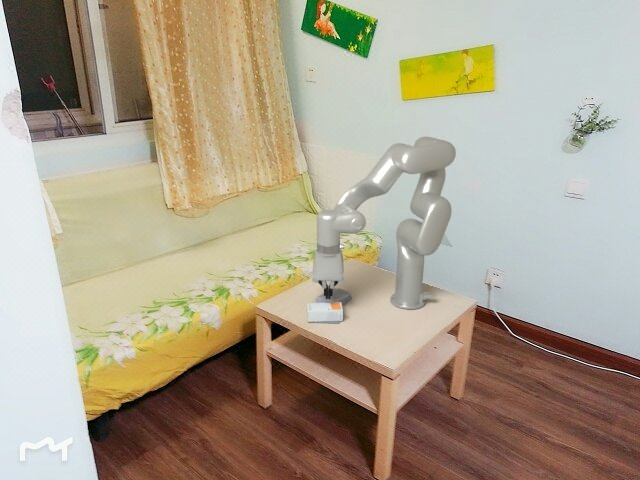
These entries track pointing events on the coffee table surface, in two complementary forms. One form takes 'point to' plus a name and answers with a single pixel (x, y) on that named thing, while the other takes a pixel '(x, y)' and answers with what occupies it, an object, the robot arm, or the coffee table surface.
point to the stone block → (335, 297)
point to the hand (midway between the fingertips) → (328, 297)
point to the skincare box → (324, 312)
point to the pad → (329, 322)
